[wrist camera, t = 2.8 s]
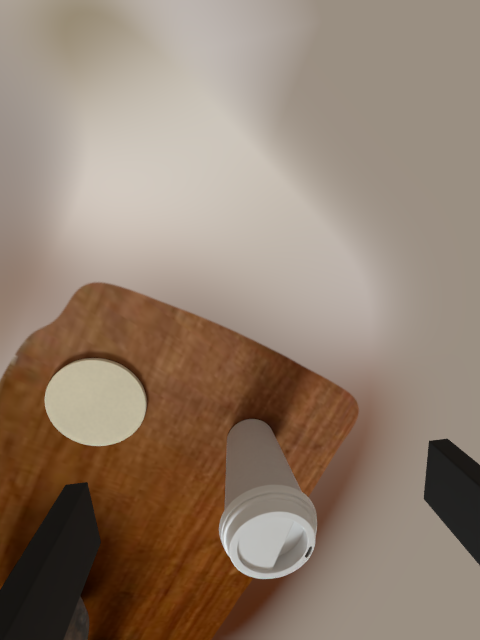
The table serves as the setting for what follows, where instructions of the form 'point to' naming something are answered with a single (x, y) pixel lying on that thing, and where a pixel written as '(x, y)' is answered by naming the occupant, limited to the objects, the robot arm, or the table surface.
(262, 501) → the coffee cup
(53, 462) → the table surface
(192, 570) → the table surface
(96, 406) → the cream mat
